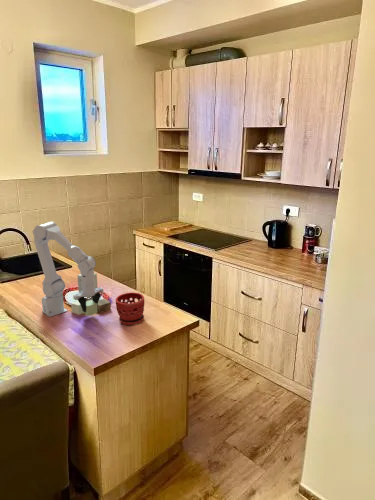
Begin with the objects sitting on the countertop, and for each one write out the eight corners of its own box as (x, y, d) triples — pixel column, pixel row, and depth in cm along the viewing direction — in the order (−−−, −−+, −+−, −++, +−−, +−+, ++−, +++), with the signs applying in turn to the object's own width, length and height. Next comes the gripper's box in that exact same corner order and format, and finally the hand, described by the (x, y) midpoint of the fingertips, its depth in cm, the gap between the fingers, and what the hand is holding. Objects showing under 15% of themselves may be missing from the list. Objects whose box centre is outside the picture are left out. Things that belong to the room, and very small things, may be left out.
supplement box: (88, 292, 202) (87, 270, 198) (98, 295, 198) (97, 273, 195) (78, 296, 196) (76, 274, 192) (88, 299, 192) (86, 277, 188)
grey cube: (79, 315, 175) (78, 305, 174) (71, 312, 178) (71, 303, 176) (86, 311, 179) (86, 301, 178) (79, 308, 182) (78, 299, 180)
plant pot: (131, 312, 179) (130, 289, 176) (150, 320, 171) (150, 296, 168) (110, 321, 169) (109, 297, 166) (129, 330, 161) (128, 306, 158)
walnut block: (99, 313, 178) (99, 305, 177) (94, 308, 182) (93, 301, 181) (110, 309, 182) (110, 302, 180) (104, 305, 186) (104, 298, 185)
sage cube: (87, 316, 169) (87, 306, 168) (82, 312, 172) (81, 302, 171) (97, 312, 172) (96, 303, 171) (91, 309, 176) (91, 299, 174)
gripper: (77, 289, 160) (79, 317, 164) (106, 281, 170) (107, 307, 174) (70, 284, 165) (72, 311, 169) (98, 277, 175) (99, 303, 179)
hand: (89, 309), depth 172 cm, fingers closed on sage cube, 5 cm apart
